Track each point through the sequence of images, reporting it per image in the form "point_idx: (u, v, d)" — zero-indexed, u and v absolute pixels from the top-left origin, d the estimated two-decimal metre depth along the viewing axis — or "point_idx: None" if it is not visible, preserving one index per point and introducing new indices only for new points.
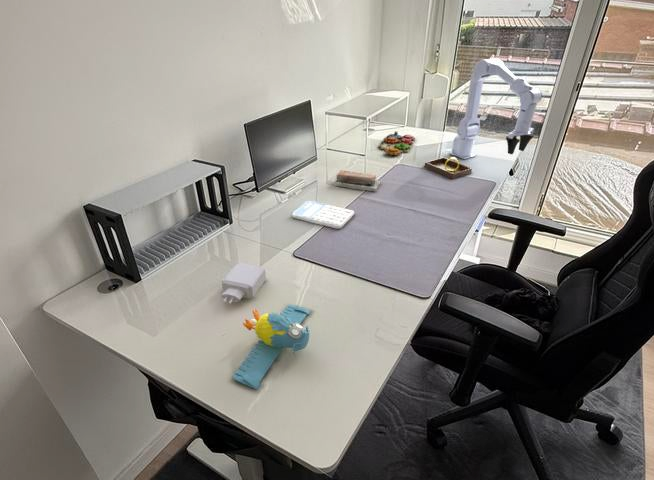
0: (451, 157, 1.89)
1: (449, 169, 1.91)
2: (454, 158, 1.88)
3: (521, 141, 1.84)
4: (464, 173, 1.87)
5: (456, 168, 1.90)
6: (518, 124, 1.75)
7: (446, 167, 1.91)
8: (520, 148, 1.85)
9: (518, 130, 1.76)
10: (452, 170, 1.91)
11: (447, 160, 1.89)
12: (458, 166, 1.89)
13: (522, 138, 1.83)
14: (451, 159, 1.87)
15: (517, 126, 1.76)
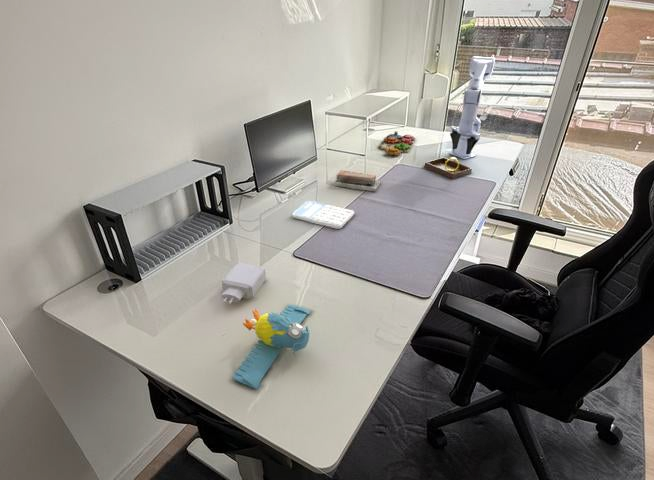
0: (451, 157, 1.89)
1: (449, 169, 1.91)
2: (454, 158, 1.88)
3: None
4: (464, 173, 1.87)
5: (456, 168, 1.90)
6: None
7: (446, 167, 1.91)
8: None
9: None
10: (452, 170, 1.91)
11: (447, 160, 1.89)
12: (458, 166, 1.89)
13: None
14: (451, 159, 1.87)
15: None
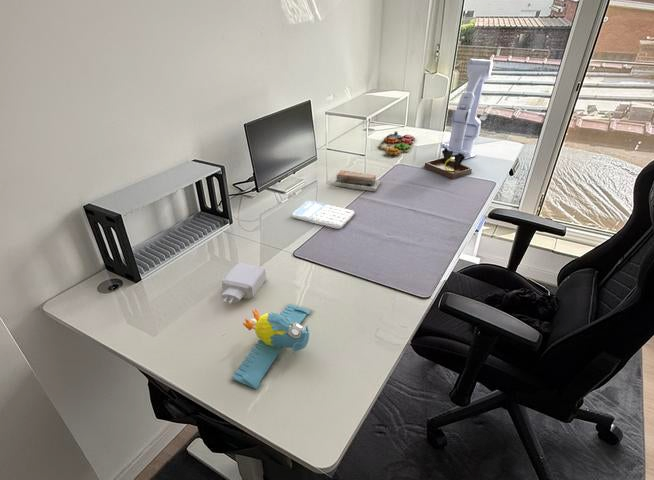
0: (451, 157, 1.88)
1: (449, 169, 1.91)
2: (454, 158, 1.88)
3: None
4: (464, 173, 1.87)
5: None
6: None
7: (446, 167, 1.91)
8: None
9: None
10: (452, 170, 1.91)
11: (447, 160, 1.89)
12: None
13: None
14: (451, 159, 1.87)
15: None
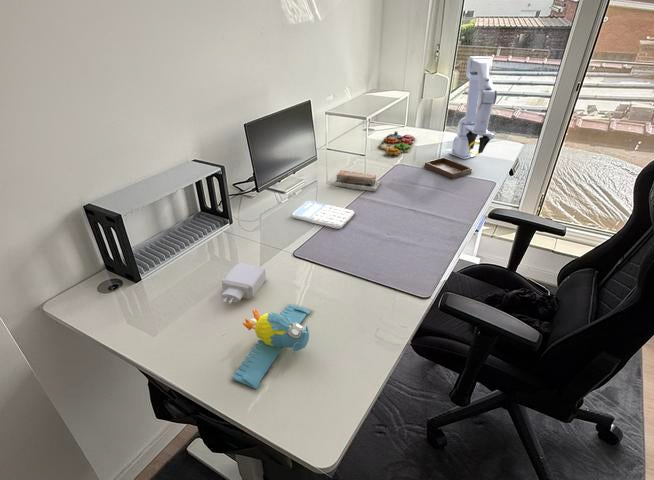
0: (475, 140, 1.86)
1: None
2: (478, 141, 1.85)
3: None
4: (464, 173, 1.87)
5: None
6: None
7: None
8: None
9: None
10: (476, 153, 1.88)
11: (471, 143, 1.87)
12: None
13: None
14: (475, 142, 1.85)
15: None
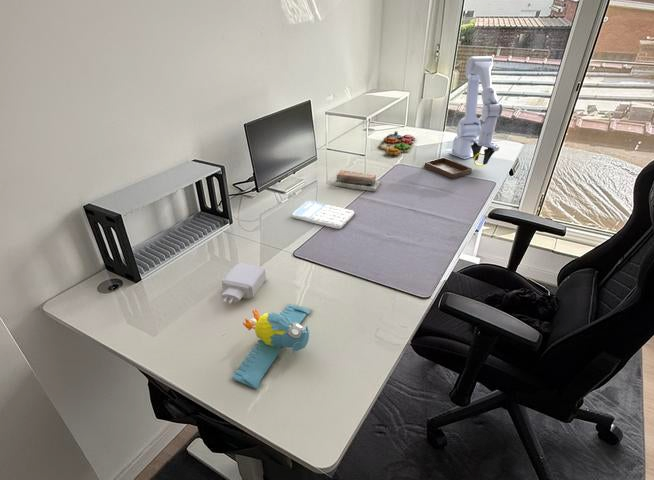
0: None
1: None
2: (483, 152, 1.89)
3: None
4: (464, 173, 1.87)
5: None
6: None
7: (474, 161, 1.93)
8: None
9: None
10: (481, 164, 1.92)
11: (476, 154, 1.90)
12: None
13: None
14: (480, 153, 1.89)
15: None
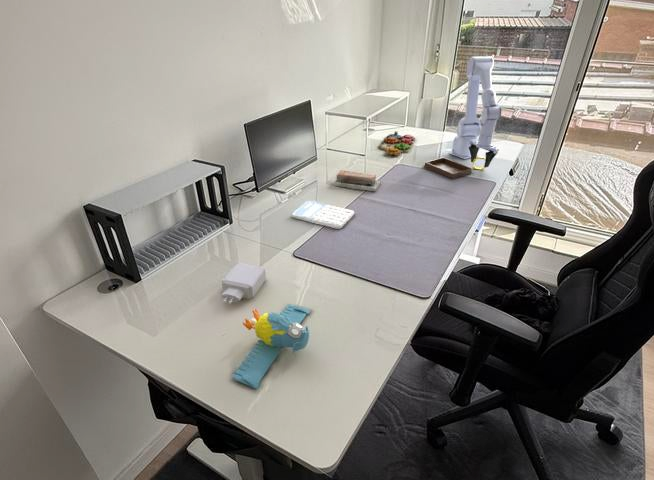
0: None
1: None
2: (482, 156, 1.90)
3: None
4: (464, 173, 1.87)
5: None
6: None
7: None
8: None
9: None
10: (480, 168, 1.93)
11: (475, 158, 1.91)
12: None
13: None
14: (479, 157, 1.90)
15: None
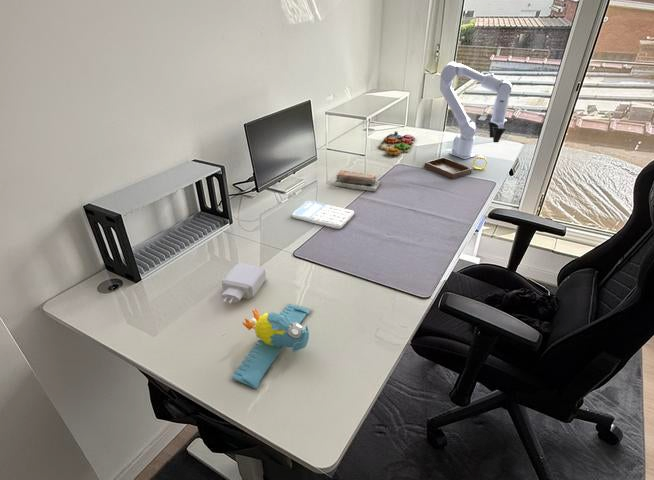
0: None
1: None
2: (482, 156, 1.90)
3: (491, 129, 2.00)
4: (464, 173, 1.87)
5: (484, 166, 1.92)
6: (499, 114, 1.90)
7: None
8: (491, 135, 2.02)
9: (500, 119, 1.91)
10: (480, 168, 1.93)
11: (475, 158, 1.91)
12: (486, 164, 1.91)
13: (492, 126, 1.99)
14: (479, 157, 1.90)
15: (498, 116, 1.91)
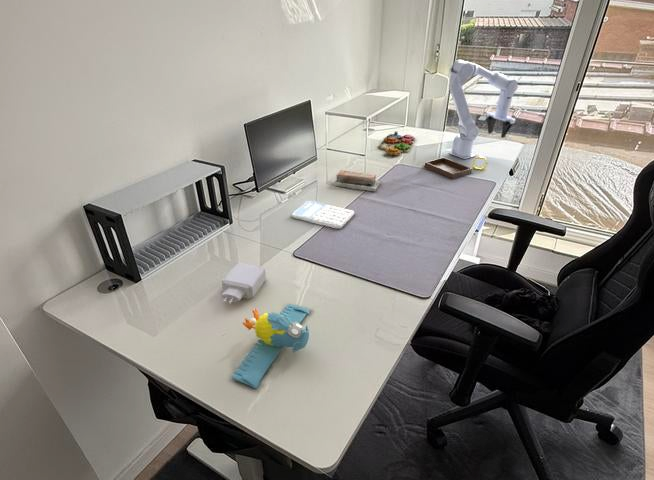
0: None
1: None
2: (482, 156, 1.90)
3: (490, 125, 2.05)
4: (464, 173, 1.87)
5: (484, 166, 1.92)
6: (507, 110, 1.96)
7: None
8: (490, 131, 2.07)
9: (506, 115, 1.97)
10: (480, 168, 1.93)
11: (475, 158, 1.91)
12: (486, 164, 1.91)
13: (491, 122, 2.04)
14: (479, 157, 1.90)
15: (506, 112, 1.96)
